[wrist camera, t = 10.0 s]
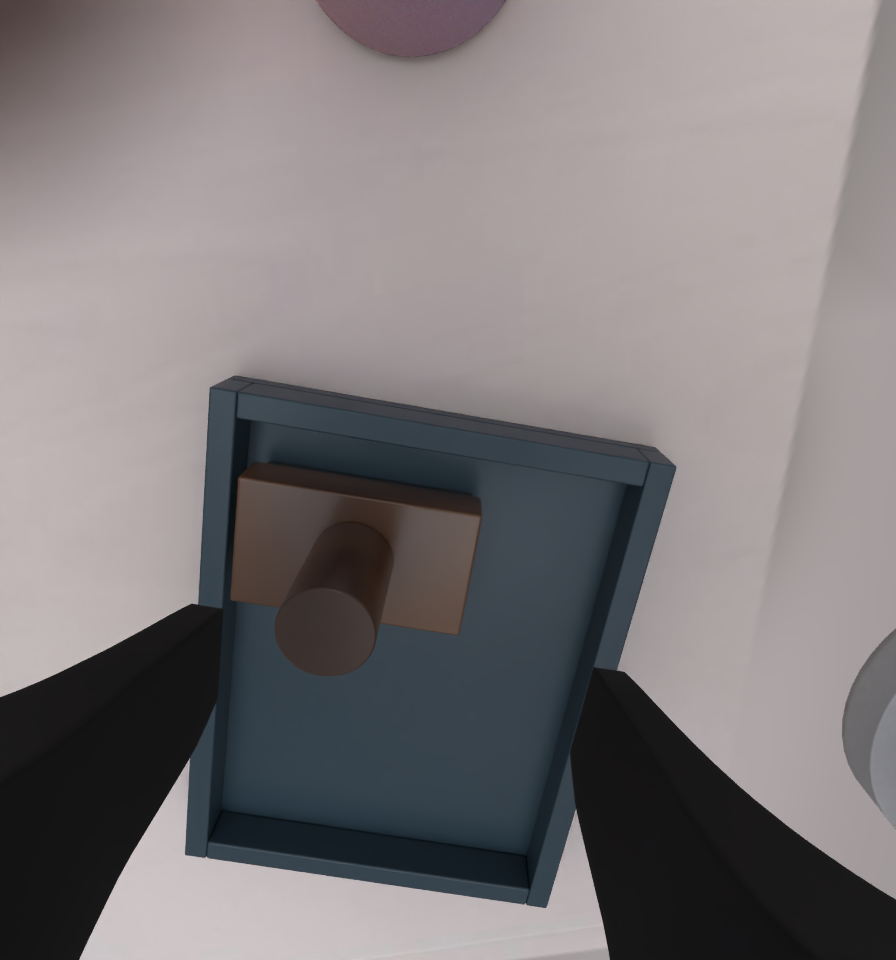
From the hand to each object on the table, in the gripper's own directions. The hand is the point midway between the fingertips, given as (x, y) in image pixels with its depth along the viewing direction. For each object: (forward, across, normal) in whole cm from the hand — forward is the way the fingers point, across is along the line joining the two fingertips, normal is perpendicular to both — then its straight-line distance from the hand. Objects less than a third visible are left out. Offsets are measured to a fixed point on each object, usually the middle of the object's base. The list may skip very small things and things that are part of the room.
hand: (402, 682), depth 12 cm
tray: (+10, 0, +6) cm, 11 cm away
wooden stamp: (+9, +2, +1) cm, 9 cm away
